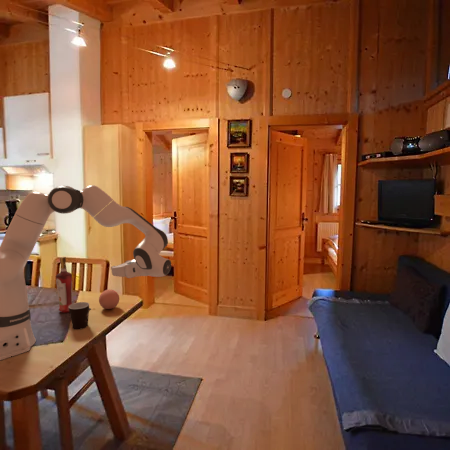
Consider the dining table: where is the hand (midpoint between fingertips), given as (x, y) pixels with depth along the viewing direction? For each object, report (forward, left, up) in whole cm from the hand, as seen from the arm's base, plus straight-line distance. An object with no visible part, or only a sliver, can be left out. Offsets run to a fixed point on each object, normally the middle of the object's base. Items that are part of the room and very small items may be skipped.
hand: (119, 265), depth 161 cm
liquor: (-12, +27, -25) cm, 39 cm away
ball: (+2, +11, -20) cm, 23 cm away
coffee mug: (-18, +5, -25) cm, 31 cm away
